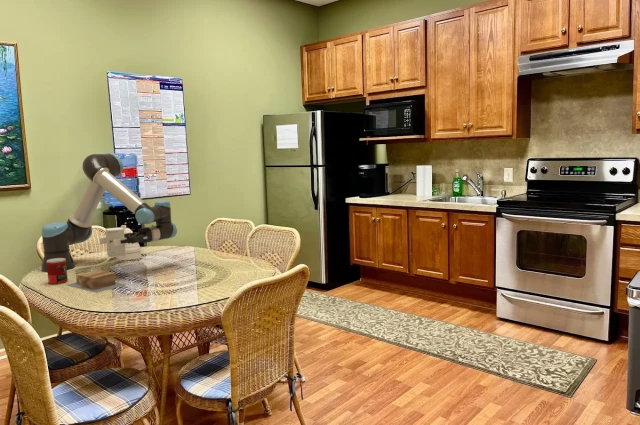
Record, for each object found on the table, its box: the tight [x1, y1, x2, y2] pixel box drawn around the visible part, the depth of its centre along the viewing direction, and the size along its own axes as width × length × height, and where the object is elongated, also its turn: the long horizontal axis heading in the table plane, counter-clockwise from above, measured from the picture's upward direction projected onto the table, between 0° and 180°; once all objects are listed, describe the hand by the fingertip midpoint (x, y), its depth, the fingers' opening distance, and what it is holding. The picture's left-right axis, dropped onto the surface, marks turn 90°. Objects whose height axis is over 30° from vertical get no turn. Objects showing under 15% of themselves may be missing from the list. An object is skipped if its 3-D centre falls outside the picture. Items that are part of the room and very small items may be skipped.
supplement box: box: [105, 226, 126, 258], centre depth 227 cm, size 7×7×13 cm
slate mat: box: [66, 281, 127, 294], centre depth 217 cm, size 24×14×1 cm, turn 56°
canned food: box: [46, 258, 69, 285], centre depth 222 cm, size 8×8×11 cm
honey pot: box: [116, 224, 142, 261], centre depth 275 cm, size 13×13×18 cm
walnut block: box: [80, 270, 116, 290], centre depth 215 cm, size 10×10×5 cm
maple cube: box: [75, 272, 89, 284], centre depth 220 cm, size 4×4×4 cm
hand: (106, 242), depth 224 cm, fingers closed on supplement box, 9 cm apart
